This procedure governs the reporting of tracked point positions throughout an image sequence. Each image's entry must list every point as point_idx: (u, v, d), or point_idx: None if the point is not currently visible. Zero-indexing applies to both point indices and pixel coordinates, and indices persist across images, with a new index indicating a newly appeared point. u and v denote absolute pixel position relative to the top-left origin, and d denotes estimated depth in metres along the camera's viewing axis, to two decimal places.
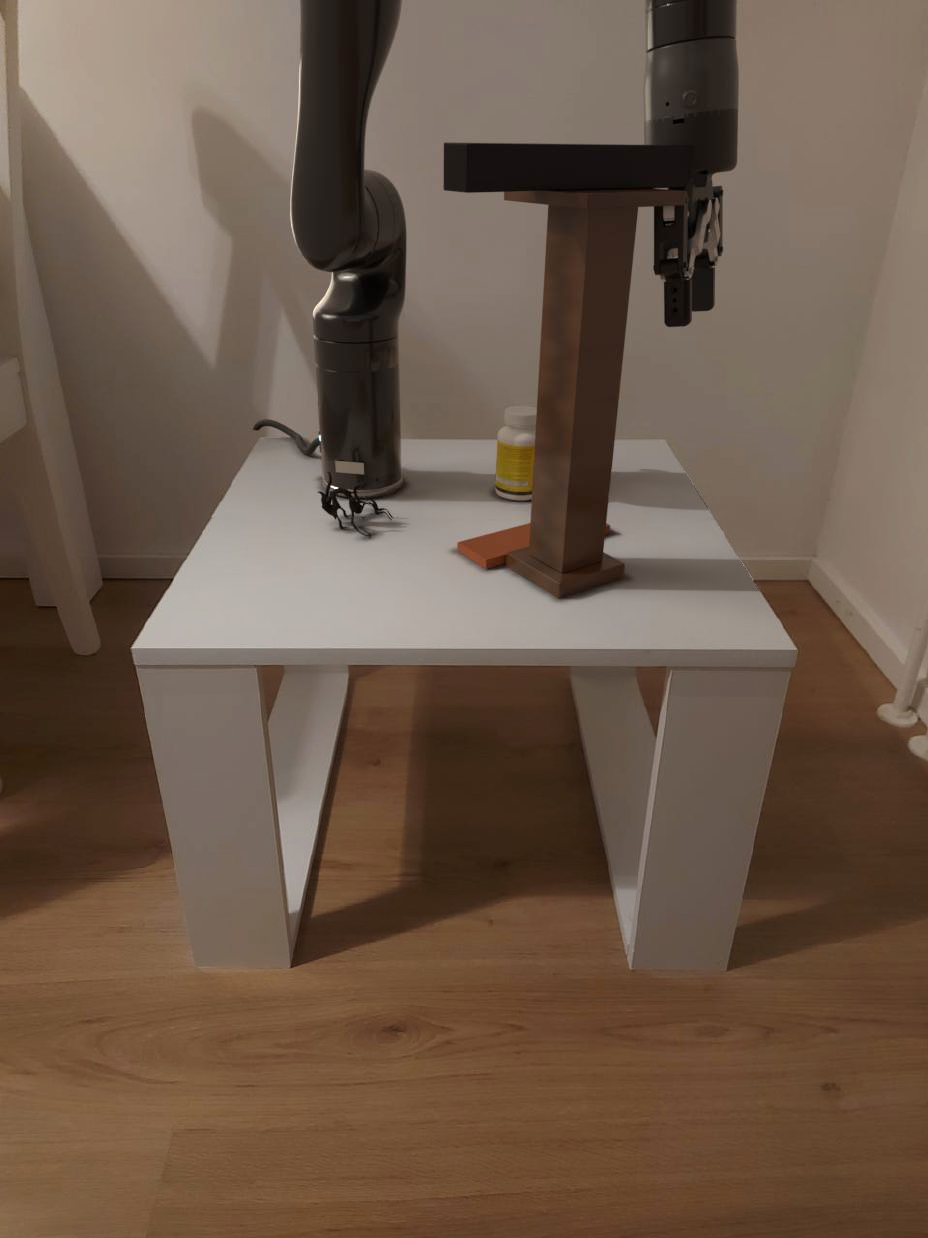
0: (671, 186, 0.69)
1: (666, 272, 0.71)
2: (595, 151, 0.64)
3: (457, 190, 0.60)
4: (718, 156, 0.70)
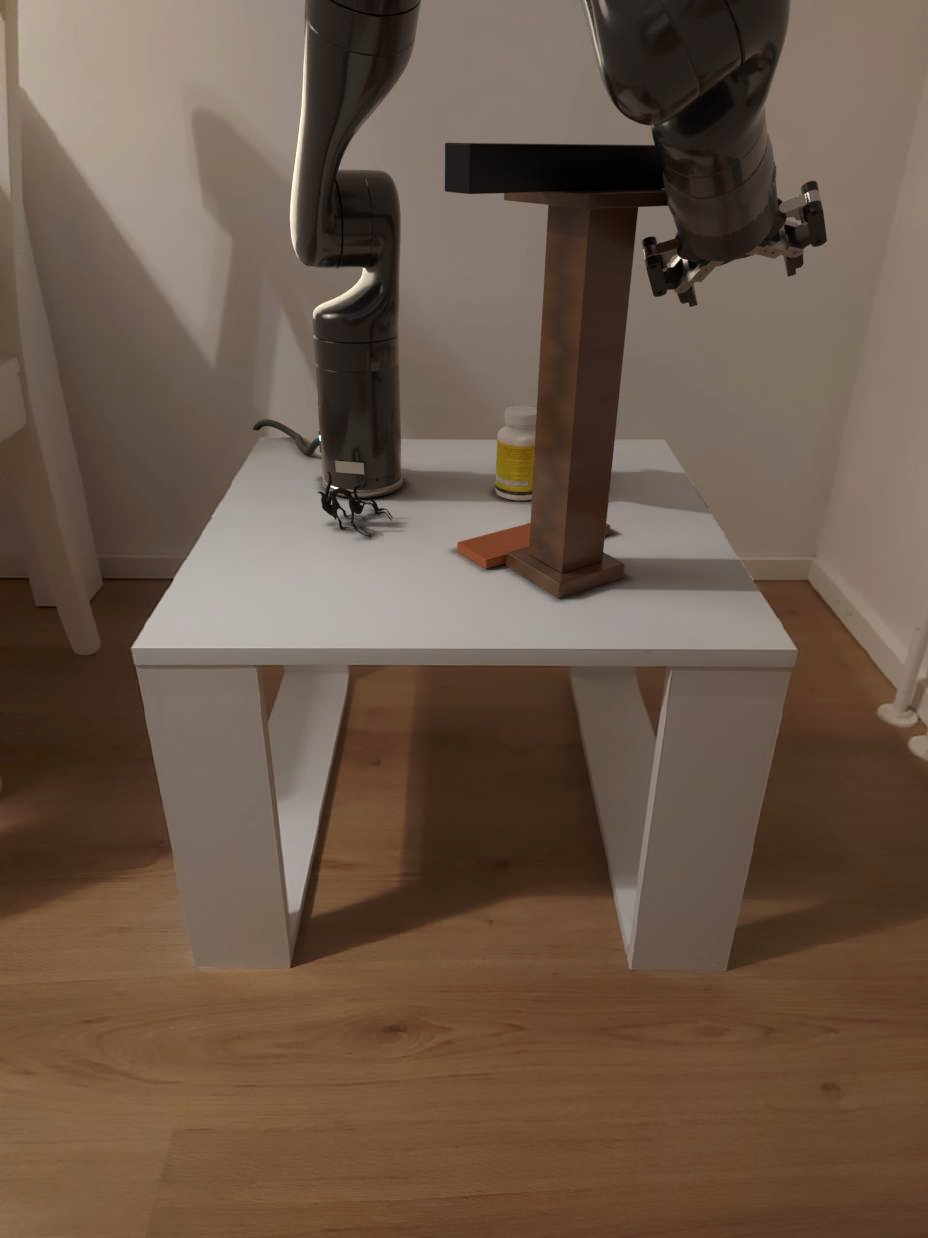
0: None
1: None
2: None
3: None
4: (699, 254, 0.67)
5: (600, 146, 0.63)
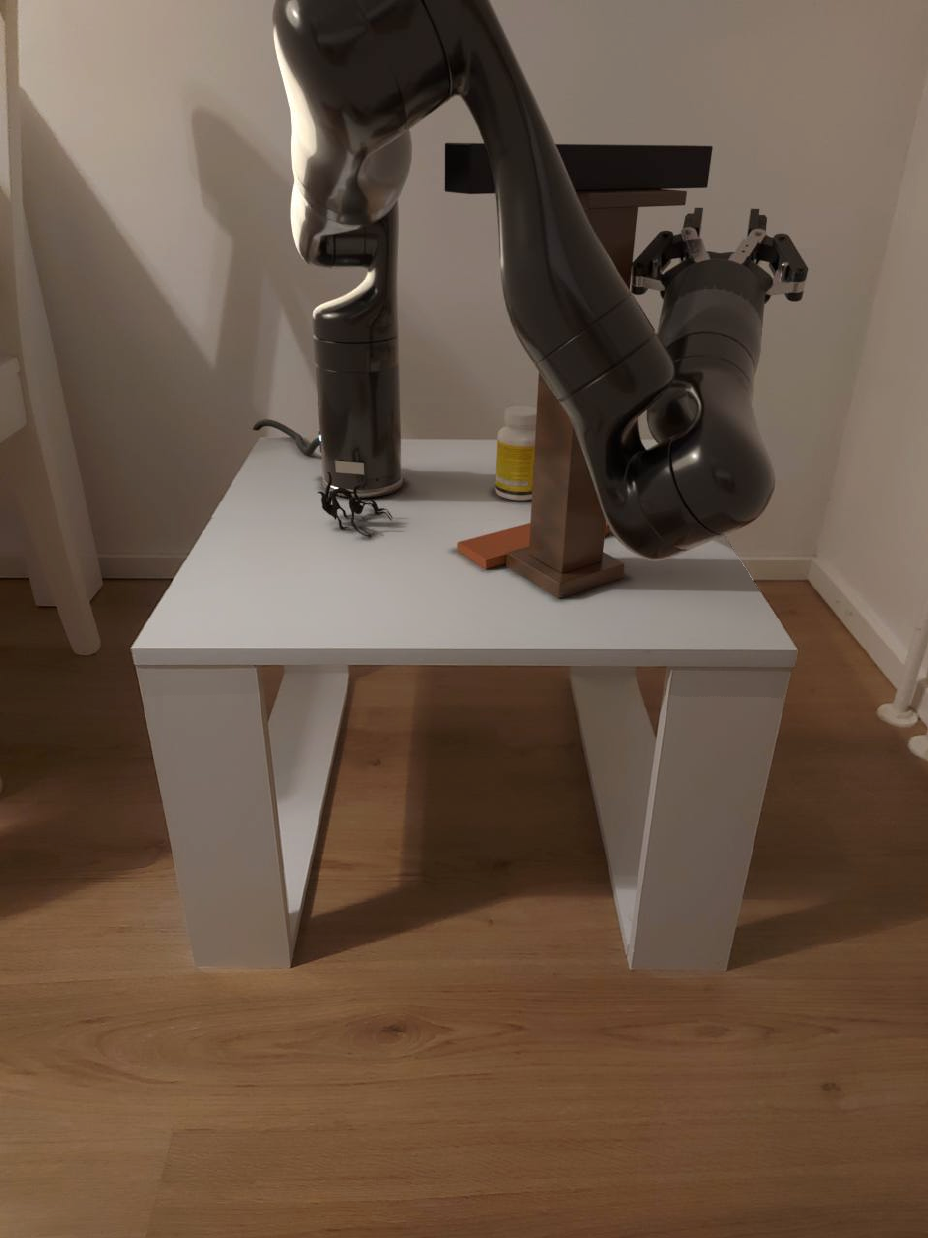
0: None
1: None
2: None
3: None
4: None
5: (600, 146, 0.63)
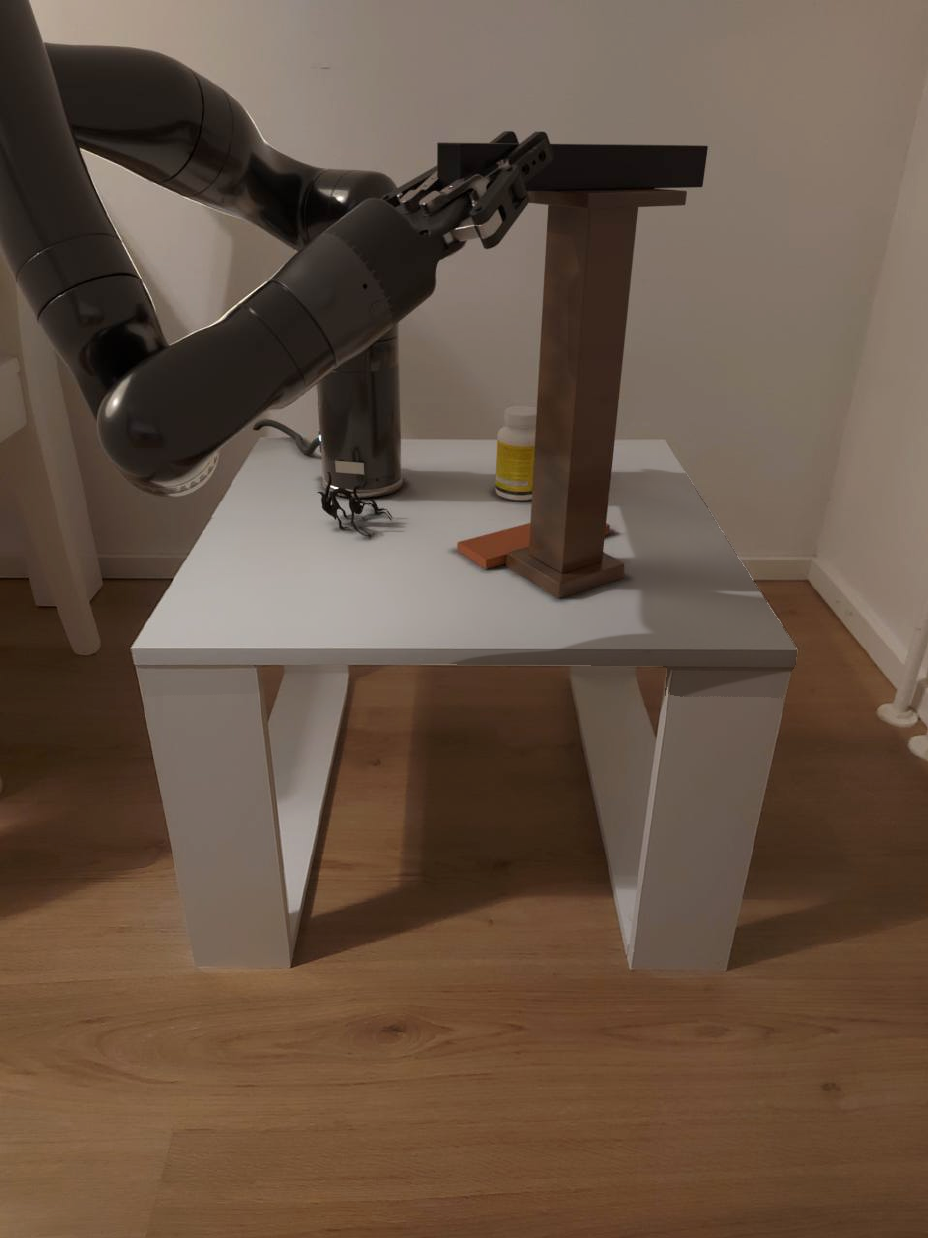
0: None
1: None
2: None
3: (437, 171, 0.61)
4: None
5: (592, 146, 0.64)
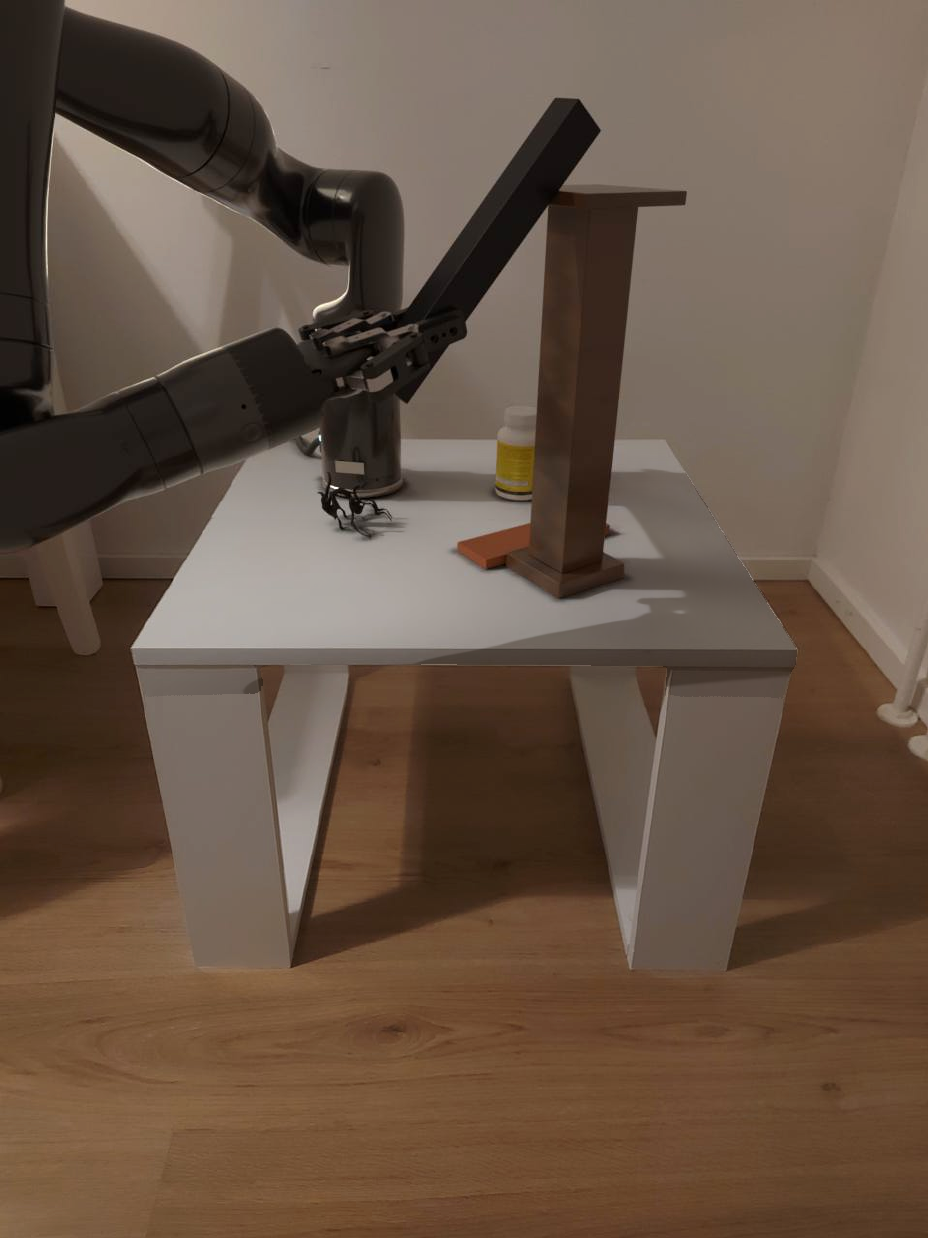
0: None
1: None
2: None
3: None
4: None
5: (475, 247, 0.62)
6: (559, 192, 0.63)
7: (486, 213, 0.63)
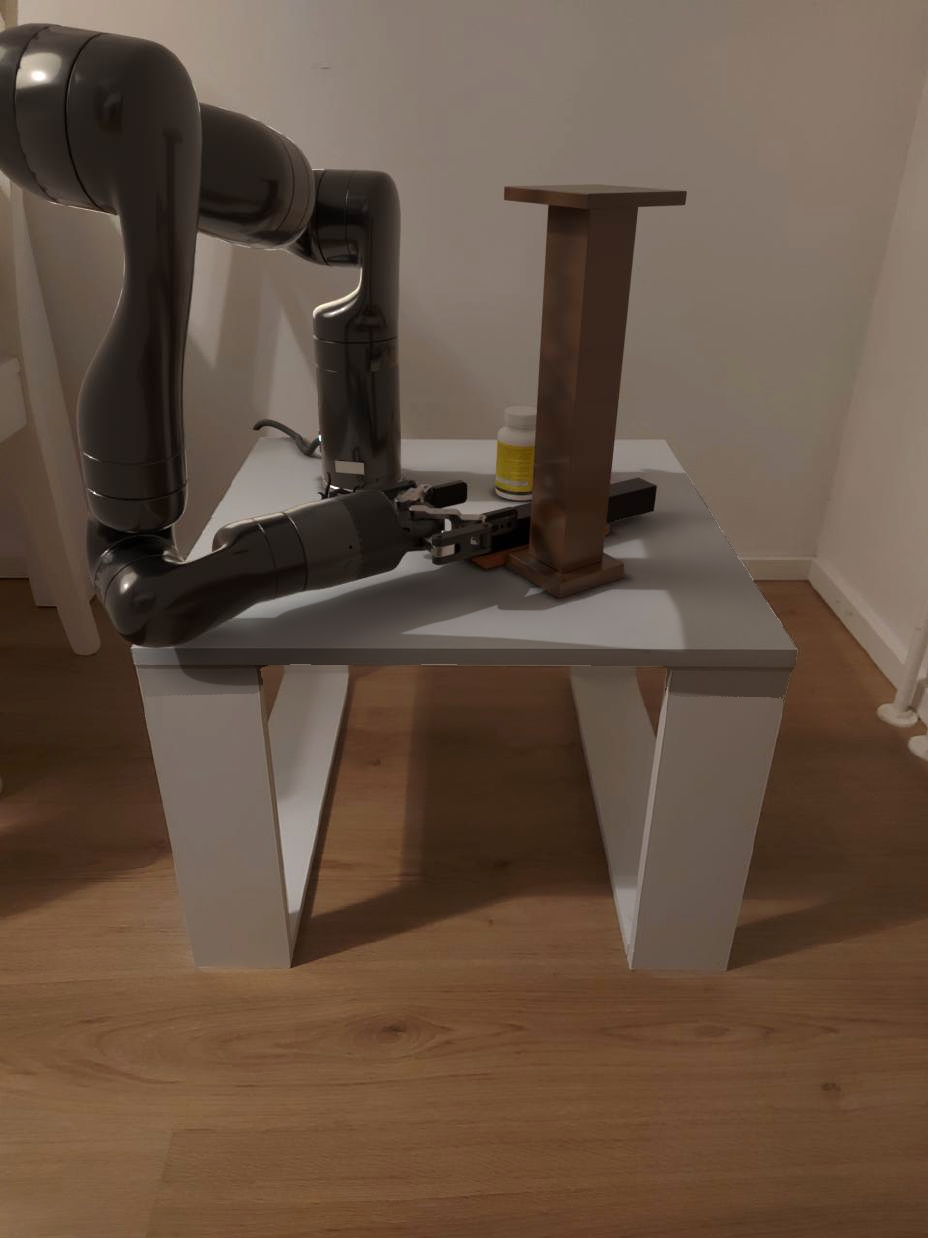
0: None
1: None
2: None
3: None
4: None
5: None
6: (559, 192, 0.63)
7: None
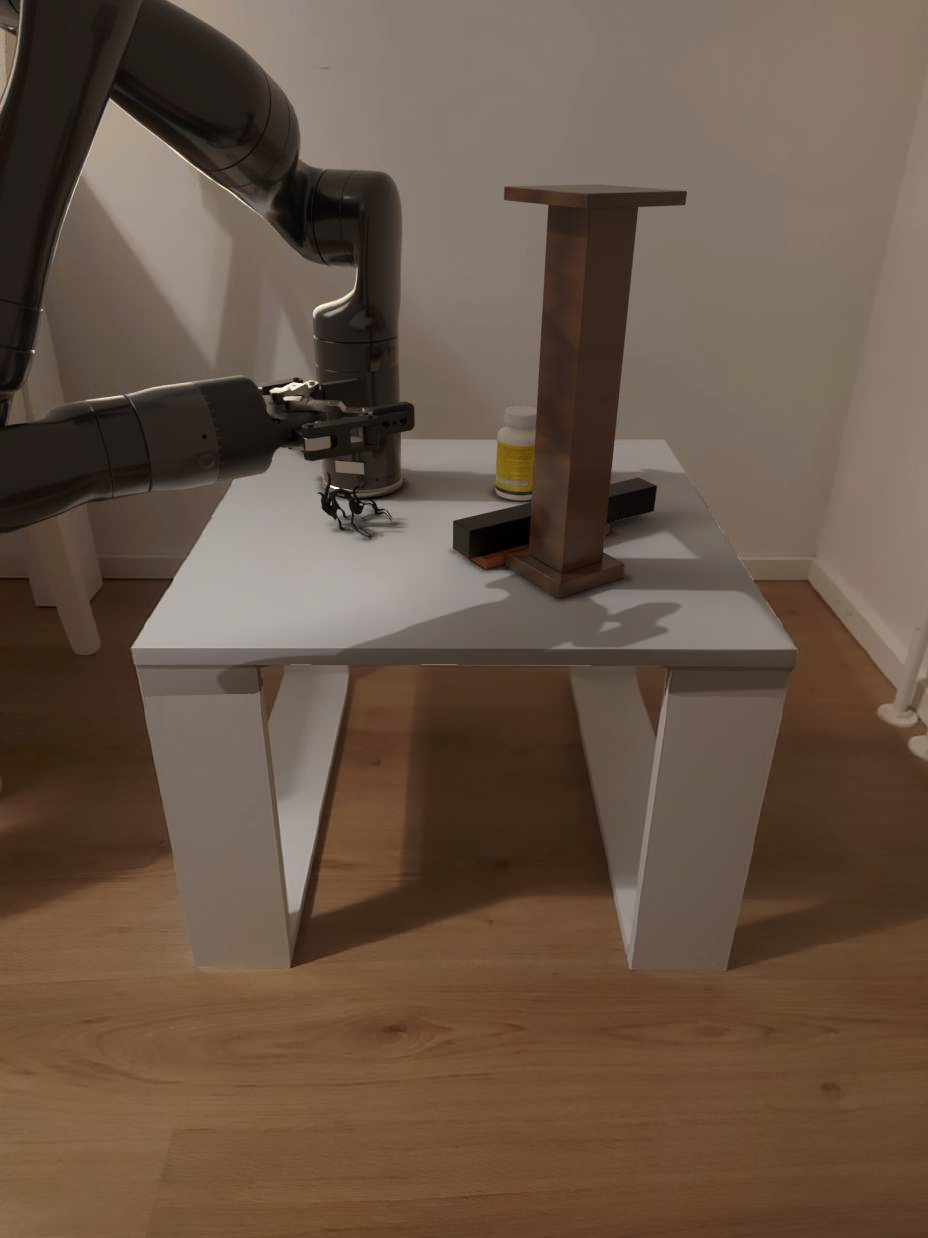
0: None
1: None
2: None
3: (453, 537, 0.85)
4: None
5: None
6: (559, 192, 0.63)
7: None
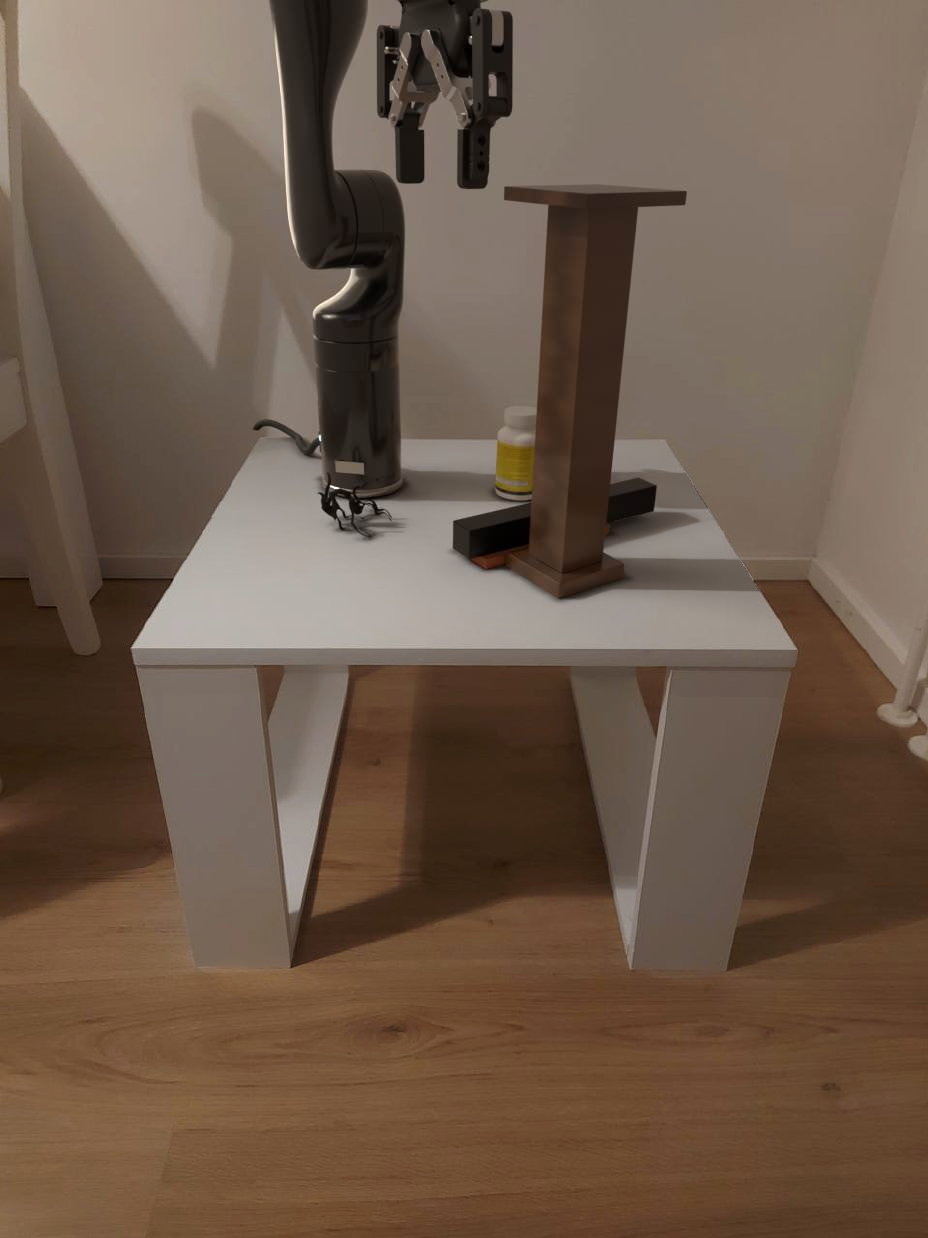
0: None
1: None
2: None
3: (453, 537, 0.85)
4: None
5: None
6: (559, 192, 0.63)
7: None
